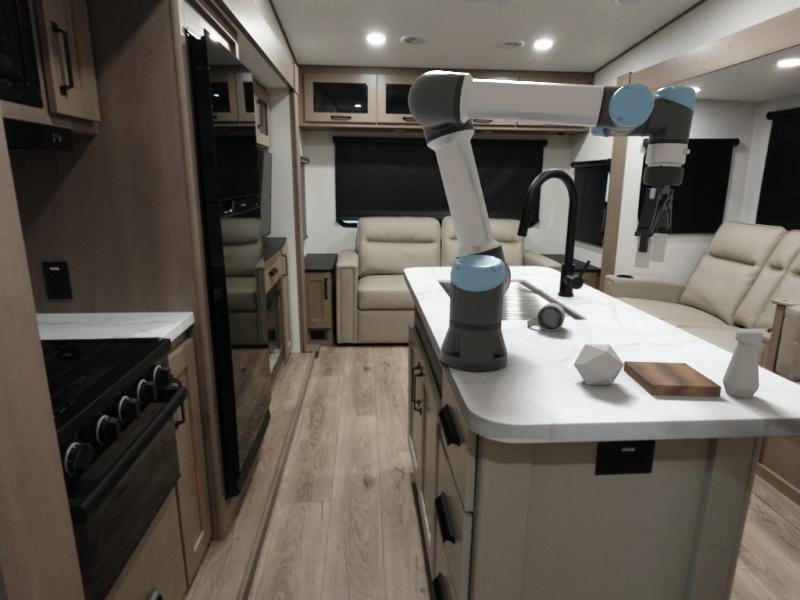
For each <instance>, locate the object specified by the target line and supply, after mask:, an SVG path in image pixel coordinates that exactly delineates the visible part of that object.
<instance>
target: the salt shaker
mask: <svg viewBox="0 0 800 600" xmlns="http://www.w3.org/2000/svg"><path fill="white" fill-rule="evenodd" d="M734 337H735V338H734V339H735V340H736V341H737V345H736V346H735V349H734V351H733V354H732V356H731V358H730V361H729V362H728V366H727V368H726V371H725V373H724V375H723V378H722V383H723V387H724V390H725V393H727V394H728V395H730V396H731V397H734V398H735V397H736V398H739V399H751V398H753V396H754V395H755V393H756V392H757V391H758V390H759V388H760V381H759V380H760V377H759V346H758V345H762V343H763V340H764V334H763V332H761V331H759V330H756V329H754V328H753V329H752V328H739V329H738V330H737V331H736V332H735V335H734Z"/></svg>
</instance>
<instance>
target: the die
mask: <svg viewBox="0 0 800 600" xmlns="http://www.w3.org/2000/svg"><path fill="white" fill-rule="evenodd" d="M573 366H574V367H575V369H576V371H577V372H578V374H579V375H580V376H581V379H583V381H584V383H585V385H587V386H612V385H613V384H614V382H615V380H616V379H617V377H618V376H619V374H620V372H621V371H622V369H624V361H623V360H622V359H620V357H619V355H618V354H617V353H616V351H615V350H614V349H613V347H612V346H611V344H601V343H600V344H594V343H593V344H589V343H587V344H584V345H583V348H582V349H581V350H580V353H579V355H578V356H577V358H576V359H575V361H574V363H573Z"/></svg>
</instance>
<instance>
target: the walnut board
mask: <svg viewBox="0 0 800 600" xmlns="http://www.w3.org/2000/svg"><path fill="white" fill-rule="evenodd" d="M623 364H624V366H623V371H624V372H625V373H626V374H627V375H628V376H629V377H630V378H632V379H633V380H634V381H635V382H636V383H637V384H639V386H641V387H642V388H643V389H644V390H645V391H646V392H648V394H650V395H655V396H656V395H657V396H659V395H660V396H685V397H686V396H687V397H688V396H690V397H691V396H692V397H717V398H718V397H721V392H722V385H721V386H720V384H718V383H716V382H715V381H713V380H711V379H710V378H709V377H707V376H706V375H704V374H702V373H701V372H700V371H698V370H696V369H694V368H693V367H692V366H690V365H689V364H687V363H686V362H660V361H658V362H655V361H654V362H653V361H623Z"/></svg>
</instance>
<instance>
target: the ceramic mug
mask: <svg viewBox="0 0 800 600" xmlns="http://www.w3.org/2000/svg"><path fill="white" fill-rule="evenodd" d="M565 318H566V311H565V309H564V308H563V306H561V305H560V304H559V303H555V302H549V303H546V304H544V305H543V306H542V307H541V308H540V309H539V310H538V312H537V313H536V316H535V317H532V318H530V319H528V320H526V324H527V326H528V327H533V326H537V325H538V327H539V328H540V329H542V331H546V332H549V331H551V333H552V332H556V331H557V330H560V329H561V328H562V326H563V324H564V321H565Z"/></svg>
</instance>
